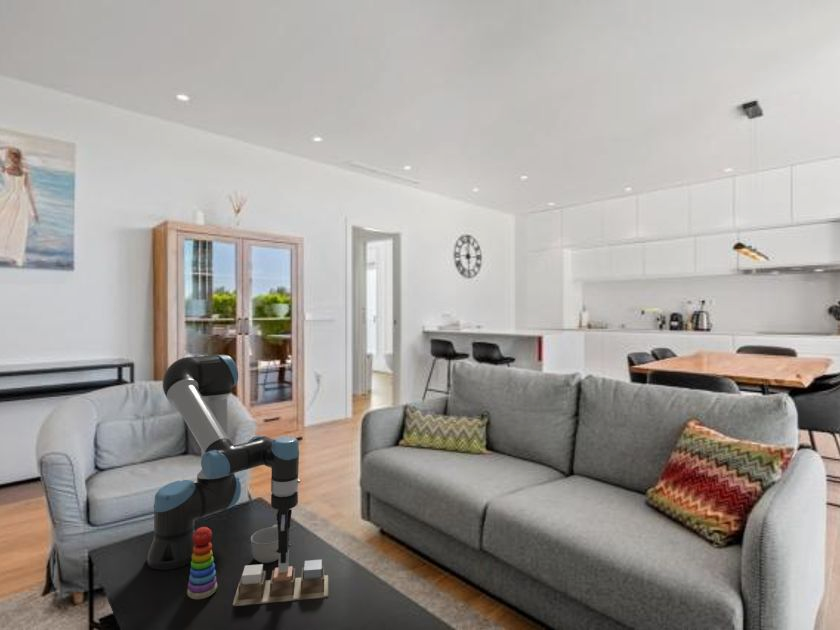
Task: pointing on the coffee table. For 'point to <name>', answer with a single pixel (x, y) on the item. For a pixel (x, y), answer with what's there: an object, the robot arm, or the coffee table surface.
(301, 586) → the button board
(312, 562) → the button slate
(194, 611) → the coffee table surface
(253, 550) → the teacup
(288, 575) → the button terracotta
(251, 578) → the button cream
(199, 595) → the stacking toy
